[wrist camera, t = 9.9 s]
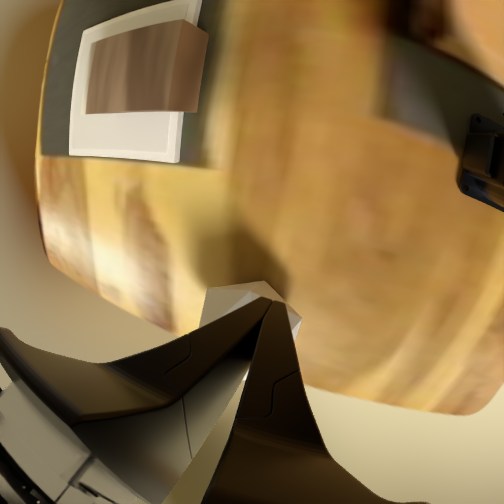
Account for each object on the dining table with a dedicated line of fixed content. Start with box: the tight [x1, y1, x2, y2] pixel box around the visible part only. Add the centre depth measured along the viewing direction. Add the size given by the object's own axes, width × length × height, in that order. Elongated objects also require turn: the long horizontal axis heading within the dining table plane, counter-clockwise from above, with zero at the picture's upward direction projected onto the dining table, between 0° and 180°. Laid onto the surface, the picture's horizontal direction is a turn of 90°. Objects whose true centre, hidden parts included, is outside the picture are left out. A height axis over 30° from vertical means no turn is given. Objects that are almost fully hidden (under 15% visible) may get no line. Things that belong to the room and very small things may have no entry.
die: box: [199, 280, 302, 381], centre depth 22 cm, size 8×9×10 cm
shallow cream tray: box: [69, 0, 202, 163], centre depth 20 cm, size 16×16×1 cm
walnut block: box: [80, 19, 209, 115], centre depth 17 cm, size 4×7×10 cm
